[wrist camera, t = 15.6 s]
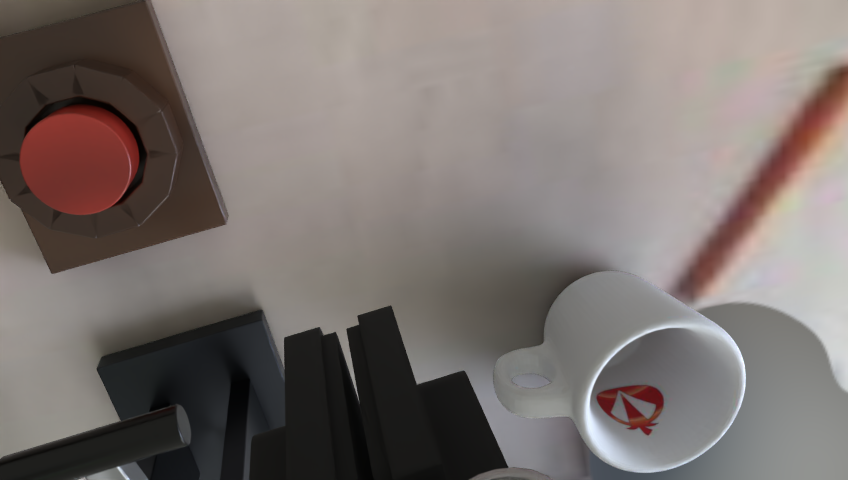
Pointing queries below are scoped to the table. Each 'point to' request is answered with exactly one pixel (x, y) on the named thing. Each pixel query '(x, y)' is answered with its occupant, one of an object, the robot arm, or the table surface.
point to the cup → (629, 373)
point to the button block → (135, 105)
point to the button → (79, 159)
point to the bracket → (204, 394)
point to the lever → (103, 449)
